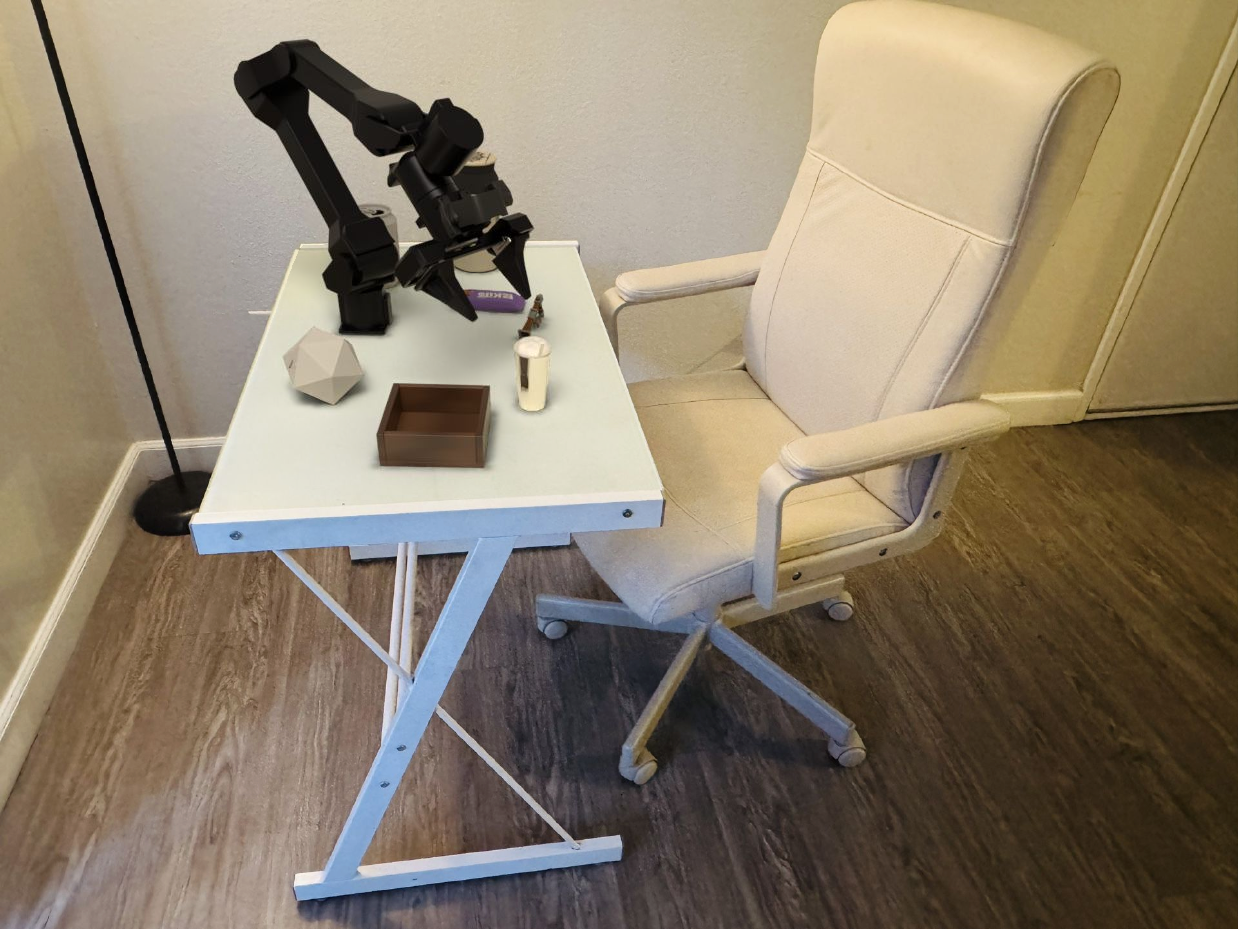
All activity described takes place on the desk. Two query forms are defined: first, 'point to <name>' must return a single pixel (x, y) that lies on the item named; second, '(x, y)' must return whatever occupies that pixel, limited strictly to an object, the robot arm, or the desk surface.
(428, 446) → the open box
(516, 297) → the snack package
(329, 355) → the die
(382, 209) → the can
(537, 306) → the wooden post with brackets
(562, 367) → the desk surface
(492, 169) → the travel mug
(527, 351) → the milkshake
